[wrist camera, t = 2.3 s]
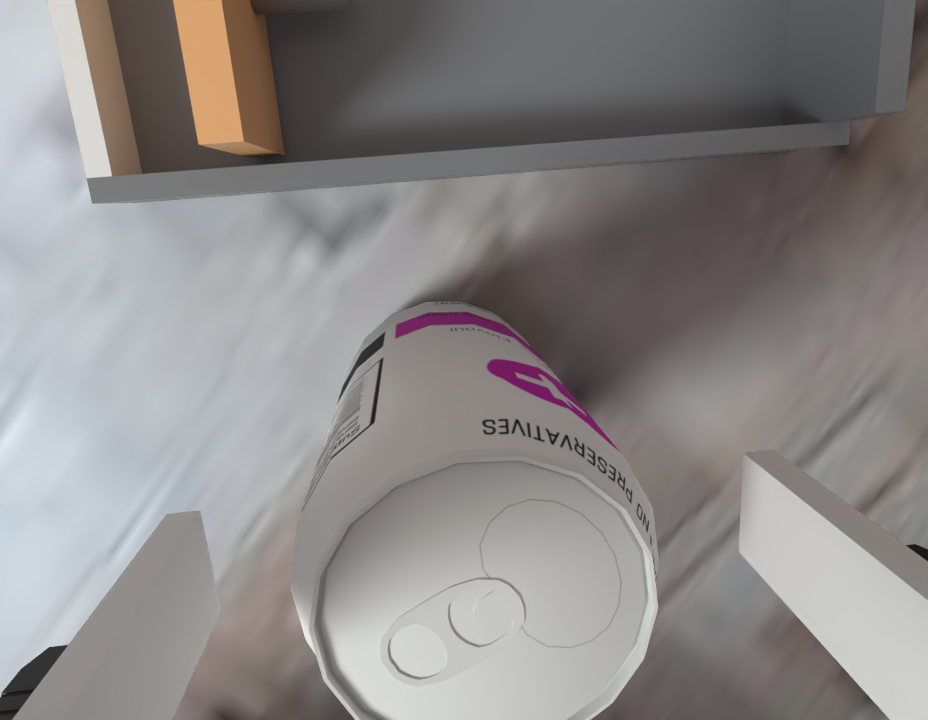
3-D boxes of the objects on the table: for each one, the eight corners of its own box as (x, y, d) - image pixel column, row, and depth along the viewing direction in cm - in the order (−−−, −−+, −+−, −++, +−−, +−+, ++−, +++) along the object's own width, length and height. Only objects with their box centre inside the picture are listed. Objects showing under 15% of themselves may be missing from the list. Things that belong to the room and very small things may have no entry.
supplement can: (477, 260, 26) (570, 342, 11) (570, 422, 28) (747, 665, 13) (308, 361, 26) (188, 564, 12) (412, 513, 28) (420, 843, 14)
